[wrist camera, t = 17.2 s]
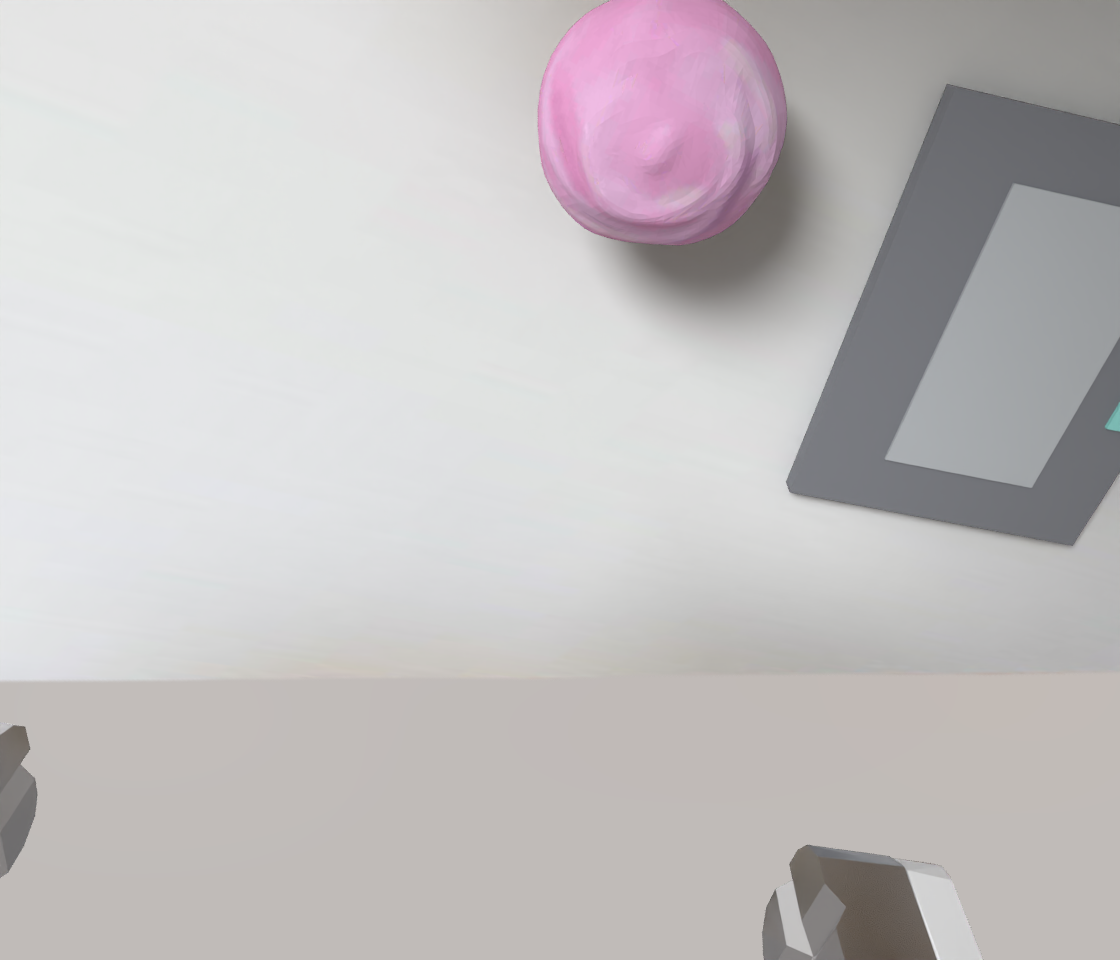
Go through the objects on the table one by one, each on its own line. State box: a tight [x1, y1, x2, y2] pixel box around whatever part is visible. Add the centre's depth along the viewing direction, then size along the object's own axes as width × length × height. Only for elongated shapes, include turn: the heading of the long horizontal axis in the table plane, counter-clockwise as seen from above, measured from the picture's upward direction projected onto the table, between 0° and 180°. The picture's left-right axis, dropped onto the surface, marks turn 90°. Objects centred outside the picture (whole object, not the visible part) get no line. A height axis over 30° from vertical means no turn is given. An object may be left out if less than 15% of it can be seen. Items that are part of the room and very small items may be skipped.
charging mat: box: [786, 84, 1120, 546], centre depth 42 cm, size 20×16×1 cm
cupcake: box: [538, 0, 787, 245], centre depth 33 cm, size 9×9×10 cm
